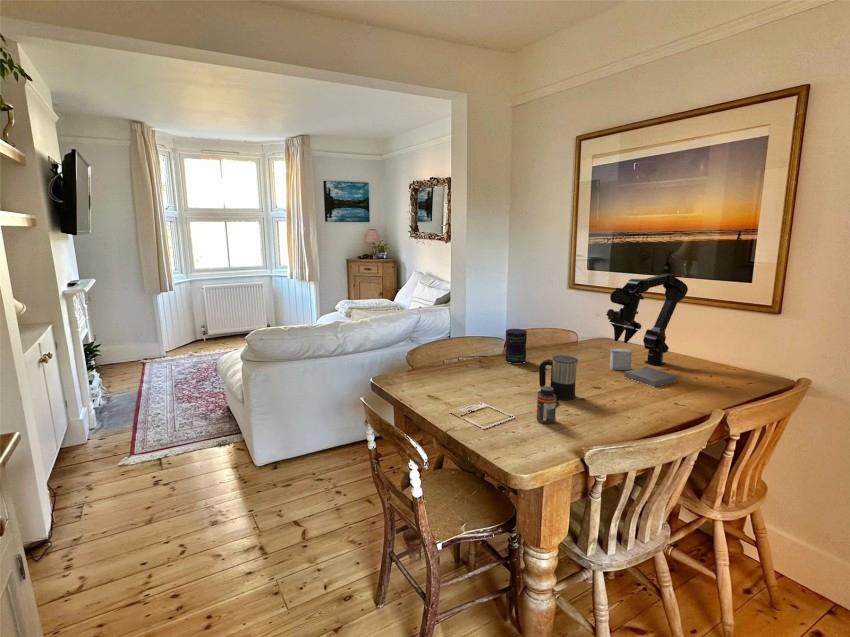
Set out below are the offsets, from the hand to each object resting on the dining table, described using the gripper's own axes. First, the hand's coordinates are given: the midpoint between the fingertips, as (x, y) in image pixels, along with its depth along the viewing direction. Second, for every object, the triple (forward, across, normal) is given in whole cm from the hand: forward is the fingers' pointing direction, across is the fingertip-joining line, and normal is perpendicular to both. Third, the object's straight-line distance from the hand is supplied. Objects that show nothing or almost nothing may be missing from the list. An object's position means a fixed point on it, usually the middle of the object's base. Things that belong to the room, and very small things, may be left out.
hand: (620, 341), depth 199 cm
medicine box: (+12, -4, +1) cm, 13 cm away
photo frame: (+35, +76, -4) cm, 84 cm away
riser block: (+12, 0, +16) cm, 21 cm away
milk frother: (+25, +46, +4) cm, 53 cm away
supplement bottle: (+30, +65, +13) cm, 72 cm away
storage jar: (+22, +19, -37) cm, 47 cm away
